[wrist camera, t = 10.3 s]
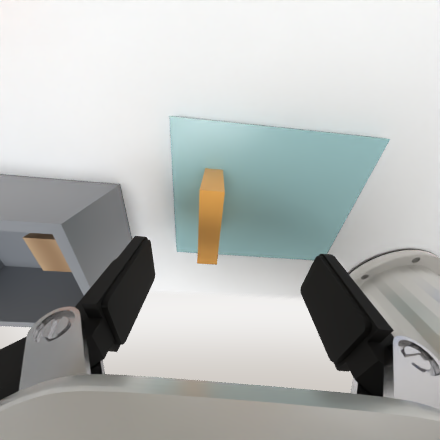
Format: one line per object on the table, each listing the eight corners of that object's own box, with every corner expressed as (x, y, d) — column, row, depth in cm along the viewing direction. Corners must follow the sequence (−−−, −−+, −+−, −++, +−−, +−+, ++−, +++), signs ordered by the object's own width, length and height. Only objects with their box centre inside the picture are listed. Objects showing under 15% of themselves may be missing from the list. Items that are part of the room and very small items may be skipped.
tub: (119, 184, 16) (61, 224, 10) (139, 272, 22) (109, 330, 16) (-65, 169, 15) (-249, 202, 9) (8, 265, 21) (-73, 323, 15)
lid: (375, 137, 14) (471, 149, 9) (317, 252, 21) (351, 299, 16) (173, 116, 14) (143, 115, 8) (179, 243, 20) (164, 290, 15)
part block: (93, 222, 17) (71, 240, 15) (103, 252, 19) (85, 272, 17) (52, 219, 17) (22, 237, 15) (66, 249, 19) (43, 270, 17)
